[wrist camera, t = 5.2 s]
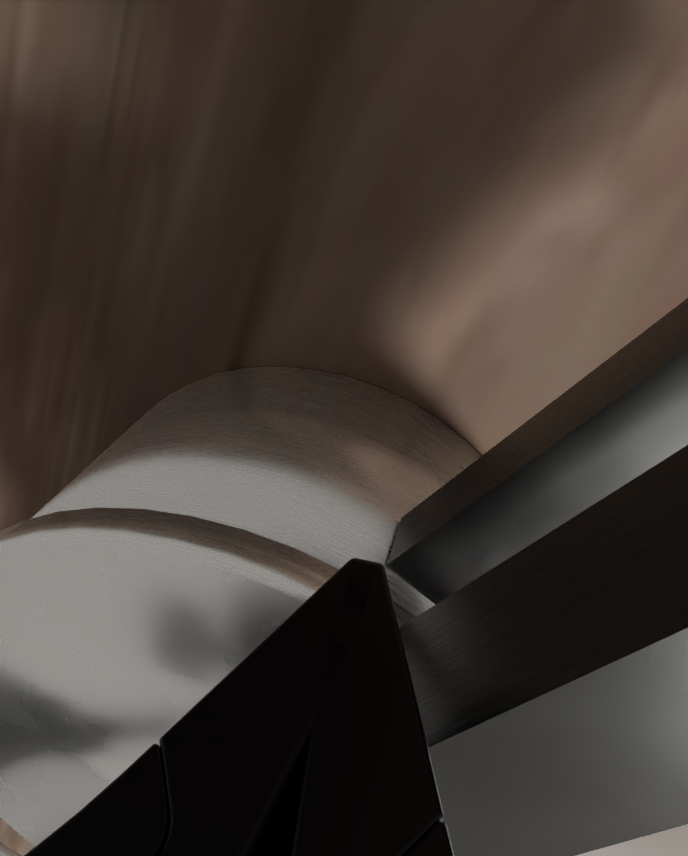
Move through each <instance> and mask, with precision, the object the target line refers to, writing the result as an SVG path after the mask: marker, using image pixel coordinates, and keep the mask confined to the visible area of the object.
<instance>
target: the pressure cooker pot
mask: <svg viewBox="0 0 688 856" xmlns="http://www.w3.org/2000/svg"><path fill="white" fill-rule="evenodd" d="M687 445H688V298H687V299H686V300H685V301H683V302H682V303H681V304H679V305H678V306H677V307H676V308H674V309H673V310H672V311H670V312H669V313H668V314H666V315H665V316H664V317H662V318H661V319H660V320H659V321H657V322H656V323H655V324H653V325H652V326H651V327H649V328H648V329H647V330H646V331H644V332H643V333H642V334H640V335H639V336H638V337H636V338H635V339H634V340H632V341H631V342H630V343H629V344H627V345H626V346H625V347H623V348H622V349H621V350H619V351H618V352H617V353H616V354H614V355H613V356H612V357H610V358H609V359H608V360H606V361H605V362H604V363H602V364H601V365H600V366H599V367H597V368H596V369H595V370H593V371H592V372H591V373H589V374H588V375H587V376H586V377H584V378H583V379H582V380H580V381H579V382H578V383H576V384H575V385H574V386H573V387H571V388H570V389H569V390H567V391H566V392H565V393H563V394H562V395H561V396H559V397H558V398H557V399H556V400H554V401H553V402H552V403H550V404H549V405H548V406H546V407H545V408H544V409H543V410H541V411H540V412H539V413H537V414H536V415H535V416H533V417H532V418H531V419H529V420H528V421H527V422H526V423H524V424H523V425H522V426H520V427H519V428H518V429H516V430H515V431H514V432H513V433H511V434H510V435H509V436H507V437H506V438H505V439H503V440H502V441H501V442H499V443H498V444H497V445H496V446H494V447H493V448H492V449H490V450H489V451H488V452H486V453H485V454H484V455H483V456H480V455H479V454H478V453H477V452H476V451H475V450H474V449H473V448H472V447H471V446H470V445H469V444H468V443H467V442H466V441H465V440H464V439H463V438H461V437H460V436H459V435H458V434H456V433H455V432H454V431H453V430H451V429H450V428H449V427H448V426H446V425H445V424H444V423H442V422H441V421H440V420H438V419H437V418H435V417H434V416H432V415H430V414H429V413H427V412H425V411H424V410H422V409H421V408H419V407H417V406H416V405H414V404H412V403H411V402H409V401H407V400H405V399H403V398H400V397H398V396H396V395H394V394H392V393H390V392H388V391H386V390H383V389H381V388H379V387H377V386H374V385H371V384H368V383H365V382H362V381H359V380H356V379H353V378H350V377H347V376H343V375H338V374H334V373H329V372H324V371H319V370H314V369H307V368H295V367H283V366H270V367H248V368H242V369H237V370H231V371H226V372H220V373H217V374H214V375H211V376H208V377H205V378H202V379H199V380H196V381H193V382H191V383H189V384H187V385H186V386H184V387H182V388H180V389H178V390H176V391H174V392H172V393H171V394H169V395H168V396H167V397H165V398H164V399H163V400H161V401H160V402H159V403H158V404H156V405H155V406H154V407H152V408H151V409H150V410H149V411H148V412H147V413H146V414H145V415H143V416H142V417H141V418H140V419H139V420H138V421H137V422H136V423H135V424H134V425H133V426H131V427H130V428H129V429H128V430H127V431H126V432H125V433H124V434H123V435H122V436H120V437H119V438H118V439H117V440H116V441H115V442H114V443H113V444H112V445H111V446H109V447H108V448H107V449H106V450H105V451H104V452H103V453H102V454H101V455H100V456H99V457H97V458H96V459H95V460H94V461H93V462H92V463H91V464H90V465H89V466H88V467H86V468H85V469H84V470H83V471H82V472H81V473H80V474H79V475H78V476H77V477H76V478H74V479H73V480H72V481H71V482H70V483H69V484H68V485H67V486H66V487H65V488H63V489H62V490H61V491H60V492H59V493H58V494H57V495H56V496H55V497H54V498H52V499H51V500H50V501H49V502H48V503H47V504H46V505H45V506H44V507H43V508H42V509H40V510H39V511H38V512H37V513H36V514H35V515H34V516H33V517H32V518H35V517H39V516H43V515H46V514H50V513H54V512H59V511H68V510H78V509H87V508H97V507H99V508H132V509H147V510H154V511H161V512H168V513H174V514H181V515H188V516H193V517H197V518H201V519H205V520H209V521H213V522H217V523H221V524H224V525H228V526H232V527H236V528H240V529H244V530H247V531H249V532H252V533H255V534H257V535H260V536H263V537H266V538H268V539H271V540H274V541H277V542H279V543H282V544H285V545H288V546H290V547H293V548H296V549H298V550H300V551H302V552H304V553H306V554H308V555H310V556H313V557H315V558H317V559H319V560H321V561H323V562H325V563H327V564H329V565H331V566H334V567H336V568H338V569H340V568H341V567H342V566H344V565H345V564H346V563H347V562H348V561H349V560H350V559H353V558H359V559H364V560H368V561H373V562H378V563H381V564H382V565H383V566H384V568H385V570H386V574H387V579H388V583H389V587H390V591H391V595H392V599H393V601H395V602H396V603H398V604H399V605H400V606H402V607H403V608H404V609H406V610H407V611H408V612H410V613H411V614H412V615H414V616H415V617H417V616H418V615H420V614H422V613H423V612H425V611H426V610H428V609H429V608H431V607H433V606H434V605H436V604H437V603H439V602H440V601H442V600H444V599H445V598H447V597H448V596H450V595H452V594H453V593H455V592H456V591H458V590H459V589H461V588H463V587H464V586H466V585H467V584H469V583H470V582H472V581H474V580H475V579H477V578H478V577H480V576H482V575H483V574H485V573H486V572H488V571H489V570H491V569H493V568H494V567H496V566H497V565H499V564H500V563H502V562H504V561H505V560H507V559H508V558H510V557H511V556H513V555H515V554H516V553H518V552H519V551H521V550H523V549H524V548H526V547H527V546H529V545H530V544H532V543H534V542H535V541H537V540H538V539H540V538H541V537H543V536H545V535H546V534H548V533H549V532H551V531H553V530H554V529H556V528H557V527H559V526H560V525H562V524H564V523H565V522H567V521H568V520H570V519H571V518H573V517H575V516H576V515H578V514H579V513H581V512H582V511H584V510H586V509H587V508H589V507H590V506H592V505H594V504H595V503H597V502H598V501H600V500H601V499H603V498H605V497H606V496H608V495H609V494H611V493H612V492H614V491H616V490H617V489H619V488H620V487H622V486H624V485H625V484H627V483H628V482H630V481H631V480H633V479H635V478H636V477H638V476H639V475H641V474H642V473H644V472H646V471H647V470H649V469H650V468H652V467H653V466H655V465H657V464H658V463H660V462H661V461H663V460H665V459H666V458H668V457H669V456H671V455H672V454H674V453H676V452H677V451H679V450H680V449H682V448H683V447H685V446H687Z"/></svg>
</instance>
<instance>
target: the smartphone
mask: <svg viewBox="0 0 688 856" xmlns="http://www.w3.org/2000/svg"><path fill="white" fill-rule="evenodd" d="M0 856H20V855H19V854H17V853H15V852H14V851H12V850H10V849H9V848H7V847H5V846H4V845H2V844H0Z"/></svg>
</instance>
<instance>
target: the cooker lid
mask: <svg viewBox="0 0 688 856" xmlns="http://www.w3.org/2000/svg"><path fill="white" fill-rule="evenodd" d="M338 570H339V569H338V568H336V567H334V566H331V565H329V564H327V563H325V562H323V561H321V560H319V559H317V558H315V557H313V556H310V555H308V554H306V553H304V552H302V551H300V550H298V549H296V548H293V547H290V546H288V545H285V544H282V543H279V542H277V541H274V540H271V539H268V538H266V537H263V536H260V535H257V534H255V533H252V532H249V531H247V530H244V529H240V528H236V527H232V526H228V525H224V524H221V523H217V522H213V521H209V520H205V519H201V518H197V517H193V516H188V515H181V514H174V513H168V512H161V511H154V510H147V509H132V508H99V507H97V508H87V509H78V510H68V511H59V512H54V513H50V514H46V515H43V516H39V517H35V518H31V519H28V520H24V521H21V522H19V523H17V524H15V525H13V526H11V527H9V528H7V529H4V530H2V531H0V817H1V818H2V819H3V820H4V821H5V822H6V823H7V824H9V825H10V826H11V827H12V828H13V829H14V830H15V831H16V832H18V833H19V834H20V835H21V836H22V837H23V838H25V839H26V840H27V841H28V842H30V843H31V844H32V845H33V846H35V847H36V846H37V845H38V844H39V843H41V842H42V841H43V840H44V839H46V838H47V837H48V836H49V835H51V834H52V833H53V832H54V831H56V830H57V829H58V828H59V827H61V826H62V825H63V824H64V823H65V822H67V821H68V820H69V819H70V818H72V817H73V816H74V815H75V814H77V813H78V812H79V811H80V810H81V809H83V808H84V807H85V806H86V805H87V804H88V803H89V802H90V801H92V800H93V799H94V798H95V797H96V796H97V795H98V794H99V793H101V792H102V791H103V790H104V789H105V788H106V787H107V786H108V785H110V784H111V783H112V782H113V781H114V780H115V779H116V778H117V777H118V776H120V775H121V774H122V773H123V772H124V771H125V770H126V769H127V768H128V767H129V766H130V765H132V764H133V763H134V762H135V761H136V760H137V759H138V758H139V757H140V756H141V755H142V754H143V753H144V752H145V751H146V750H147V749H148V748H149V747H151V746H152V745H153V744H158V745H159V746H160V744H159V740H160V738H161V737H162V736H163V735H164V734H165V733H166V732H167V731H168V730H169V729H170V728H171V727H172V726H173V725H174V724H176V723H177V722H178V721H179V720H180V719H181V718H182V717H183V716H184V715H185V714H186V713H187V712H188V711H189V710H190V709H191V708H193V707H194V706H195V705H196V704H197V703H198V702H199V701H200V700H201V699H202V698H203V697H204V696H205V695H206V694H207V693H208V692H210V691H211V690H212V689H213V688H214V687H215V686H216V685H217V684H218V683H219V682H220V681H221V680H222V679H223V678H224V677H226V676H227V675H228V674H229V673H230V672H231V671H232V670H233V669H234V668H235V667H236V666H237V665H238V664H239V663H240V662H241V661H243V660H244V659H245V658H246V657H247V656H248V655H249V654H250V653H251V652H252V651H253V650H254V649H255V648H256V647H257V646H258V645H260V644H261V643H262V642H263V641H264V640H265V639H266V638H267V637H268V636H269V635H270V634H271V633H272V632H273V631H274V630H275V629H277V628H278V627H279V626H280V625H281V624H282V623H283V622H284V621H285V620H286V619H287V618H288V617H289V616H290V615H291V614H293V613H294V612H295V611H296V610H297V609H298V608H299V607H300V606H301V605H302V604H303V603H304V602H305V601H306V600H307V599H308V598H310V597H311V596H312V595H313V594H314V593H315V592H316V591H317V590H318V589H319V588H320V587H321V586H322V585H323V584H324V583H325V582H327V581H328V580H329V579H330V578H331V577H332V576H333V575H334V574H335V573H336V572H337V571H338ZM393 604H394V608H395V612H396V616H397V620H398V624H399V629H400V633H401V637H402V641H403V645H404V649H405V654H406V658H407V662H408V666H409V670H410V675H411V679H412V683H413V687H414V691H415V695H416V700H417V704H418V708H419V712H420V716H421V720H422V725H423V729H424V733H425V737H426V741H427V745H428V750H429V754H430V758H431V762H432V766H433V771H434V775H435V779H436V783H437V787H438V791H439V796H440V800H441V804H442V808H443V812H444V819H443V822H445V823H446V824H447V827H448V831H449V836H450V840H451V844H452V848H453V852H454V856H575V855H578V854H582V853H586V852H589V851H593V850H596V849H600V848H603V847H607V846H611V845H614V844H618V843H621V842H625V841H628V840H632V839H635V838H639V837H643V836H646V835H650V834H653V833H657V832H660V831H664V830H668V829H671V828H675V827H678V826H682V825H686V824H688V445H687V446H685V447H683V448H682V449H680V450H679V451H677V452H676V453H674V454H672V455H671V456H669V457H668V458H666V459H665V460H663V461H661V462H660V463H658V464H657V465H655V466H653V467H652V468H650V469H649V470H647V471H646V472H644V473H642V474H641V475H639V476H638V477H636V478H635V479H633V480H631V481H630V482H628V483H627V484H625V485H624V486H622V487H620V488H619V489H617V490H616V491H614V492H612V493H611V494H609V495H608V496H606V497H605V498H603V499H601V500H600V501H598V502H597V503H595V504H594V505H592V506H590V507H589V508H587V509H586V510H584V511H582V512H581V513H579V514H578V515H576V516H575V517H573V518H571V519H570V520H568V521H567V522H565V523H564V524H562V525H560V526H559V527H557V528H556V529H554V530H553V531H551V532H549V533H548V534H546V535H545V536H543V537H541V538H540V539H538V540H537V541H535V542H534V543H532V544H530V545H529V546H527V547H526V548H524V549H523V550H521V551H519V552H518V553H516V554H515V555H513V556H511V557H510V558H508V559H507V560H505V561H504V562H502V563H500V564H499V565H497V566H496V567H494V568H493V569H491V570H489V571H488V572H486V573H485V574H483V575H482V576H480V577H478V578H477V579H475V580H474V581H472V582H470V583H469V584H467V585H466V586H464V587H463V588H461V589H459V590H458V591H456V592H455V593H453V594H452V595H450V596H448V597H447V598H445V599H444V600H442V601H440V602H439V603H437V604H436V605H434V606H433V607H431V608H429V609H428V610H426V611H425V612H423V613H422V614H420V615H418V616H417V617H415V616H414V615H412V614H411V613H410V612H408V611H407V610H406V609H404V608H403V607H402V606H400V605H399V604H398V603H396V602H395V601H393Z"/></svg>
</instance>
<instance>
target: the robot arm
mask: <svg viewBox="0 0 688 856" xmlns="http://www.w3.org/2000/svg"><path fill="white" fill-rule="evenodd" d="M159 744H160V746H159V745H158V744H153V745H152V746H151V747H149V748H148V749H147V750H146V751H145V752H144V753H143V754H142V755H141V756H140V757H139V758H138V759H137V760H136V761H135V762H134V763H133V764H132V765H130V766H129V767H128V768H127V769H126V770H125V771H124V772H123V773H122V774H121V775H120V776H118V777H117V778H116V779H115V780H114V781H113V782H112V783H111V784H110V785H108V786H107V787H106V788H105V789H104V790H103V791H102V792H101V793H99V794H98V795H97V796H96V797H95V798H94V799H93V800H92V801H90V802H89V803H88V804H87V805H86V806H85V807H84V808H83V809H81V810H80V811H79V812H78V813H77V814H75V815H74V816H73V817H72V818H70V819H69V820H68V821H67V822H65V823H64V824H63V825H62V826H61V827H59V828H58V829H57V830H56V831H54V832H53V833H52V834H51V835H49V836H48V837H47V838H46V839H44V840H43V841H42V842H41V843H39V844H38V845H37V846H36V847H34V848H33V849H32V850H31V851H29V852H28V853H27V854H26V855H24V856H454V852H453V848H452V844H451V840H450V836H449V831H448V827H447V824H446V823H445V822H443V819H444V812H443V808H442V804H441V800H440V796H439V791H438V787H437V783H436V779H435V775H434V771H433V766H432V762H431V758H430V754H429V750H428V745H427V741H426V737H425V733H424V729H423V725H422V720H421V716H420V712H419V708H418V704H417V700H416V695H415V691H414V687H413V683H412V679H411V675H410V670H409V666H408V662H407V658H406V654H405V649H404V645H403V641H402V637H401V633H400V629H399V624H398V620H397V616H396V612H395V608H394V604H393V599H392V595H391V591H390V587H389V583H388V579H387V574H386V570H385V568H384V566H383V565H382V564H381V563H378V562H373V561H368V560H364V559H359V558H353V559H350V560H349V561H348V562H347V563H346V564H345V565H344V566H342V567H341V568H340V569H339V570H338V571H337V572H336V573H335V574H334V575H333V576H332V577H331V578H330V579H329V580H328V581H327V582H325V583H324V584H323V585H322V586H321V587H320V588H319V589H318V590H317V591H316V592H315V593H314V594H313V595H312V596H311V597H310V598H308V599H307V600H306V601H305V602H304V603H303V604H302V605H301V606H300V607H299V608H298V609H297V610H296V611H295V612H294V613H293V614H291V615H290V616H289V617H288V618H287V619H286V620H285V621H284V622H283V623H282V624H281V625H280V626H279V627H278V628H277V629H275V630H274V631H273V632H272V633H271V634H270V635H269V636H268V637H267V638H266V639H265V640H264V641H263V642H262V643H261V644H260V645H258V646H257V647H256V648H255V649H254V650H253V651H252V652H251V653H250V654H249V655H248V656H247V657H246V658H245V659H244V660H243V661H241V662H240V663H239V664H238V665H237V666H236V667H235V668H234V669H233V670H232V671H231V672H230V673H229V674H228V675H227V676H226V677H224V678H223V679H222V680H221V681H220V682H219V683H218V684H217V685H216V686H215V687H214V688H213V689H212V690H211V691H210V692H208V693H207V694H206V695H205V696H204V697H203V698H202V699H201V700H200V701H199V702H198V703H197V704H196V705H195V706H194V707H193V708H191V709H190V710H189V711H188V712H187V713H186V714H185V715H184V716H183V717H182V718H181V719H180V720H179V721H178V722H177V723H176V724H174V725H173V726H172V727H171V728H170V729H169V730H168V731H167V732H166V733H165V734H164V735H163V736H162V737H161V738H160V740H159Z"/></svg>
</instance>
